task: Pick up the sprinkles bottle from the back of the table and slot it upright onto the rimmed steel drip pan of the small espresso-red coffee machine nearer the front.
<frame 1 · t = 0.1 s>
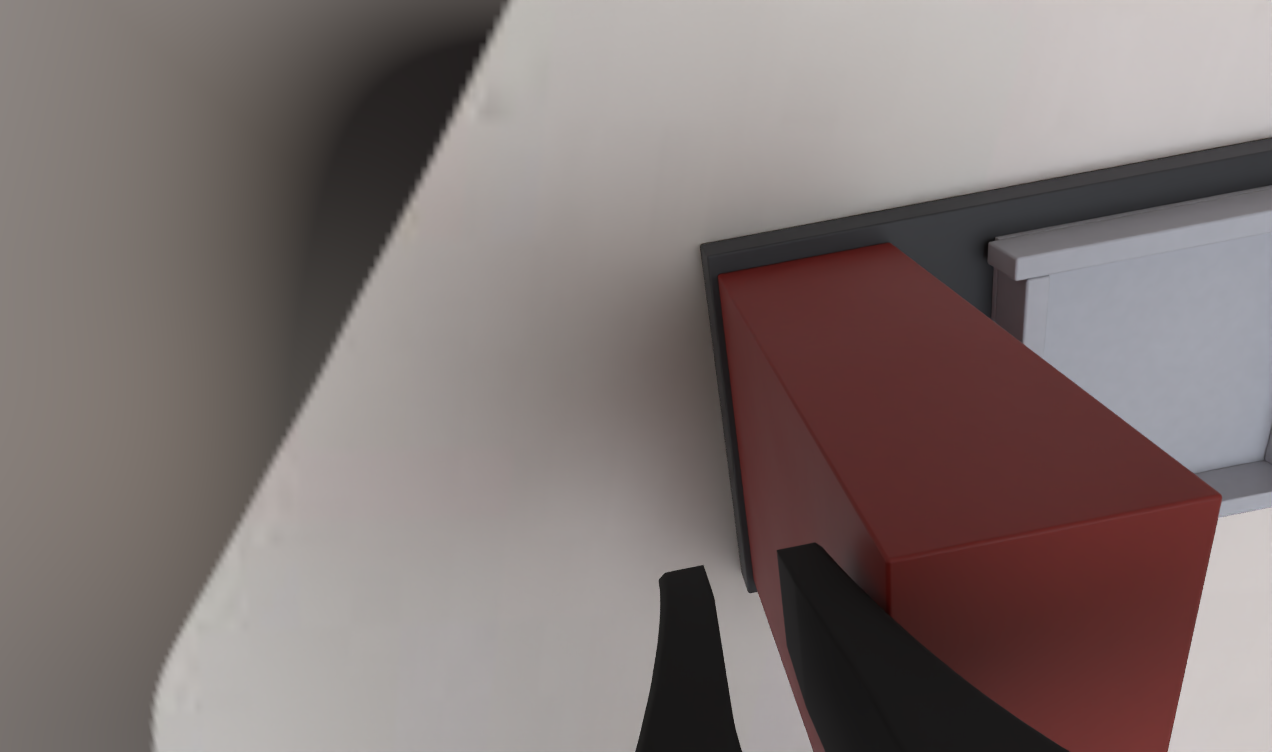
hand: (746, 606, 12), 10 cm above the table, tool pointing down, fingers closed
coffee maker: (1124, 349, 23), on the table
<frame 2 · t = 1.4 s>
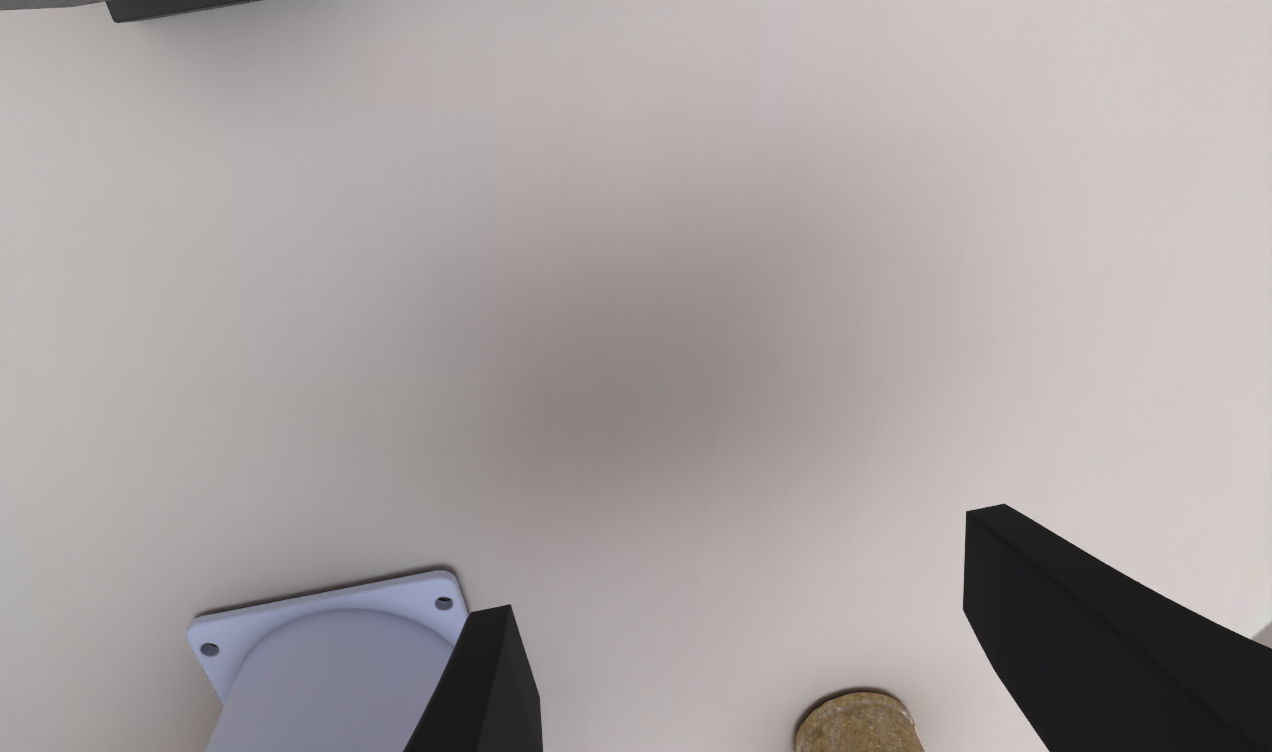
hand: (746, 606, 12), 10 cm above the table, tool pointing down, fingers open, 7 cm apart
sprinkles bottle: (849, 726, 30), on the table
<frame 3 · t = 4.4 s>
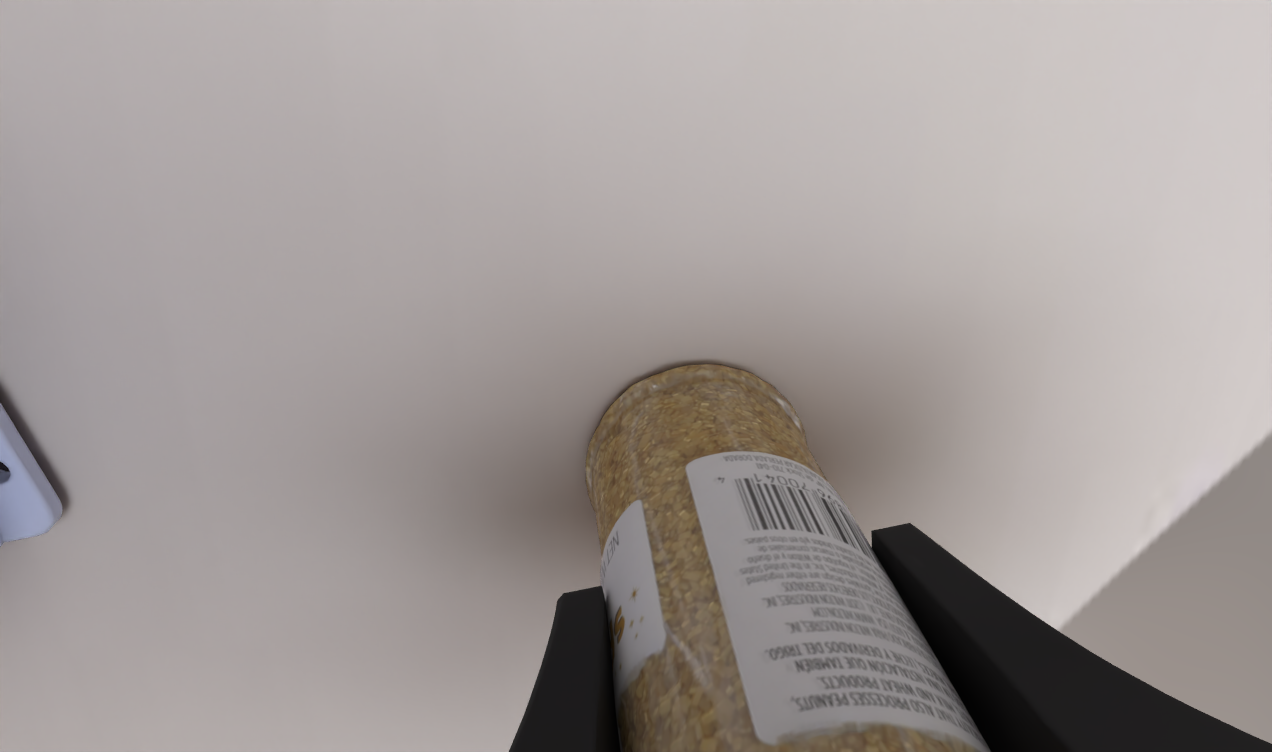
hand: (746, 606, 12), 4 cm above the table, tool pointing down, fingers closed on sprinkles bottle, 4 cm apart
sprinkles bottle: (694, 450, 17), on the table, touching gripper
when the fingers open (6 cm above the table, at t = 10.1 s): sprinkles bottle stays where it is, resting on coffee maker.
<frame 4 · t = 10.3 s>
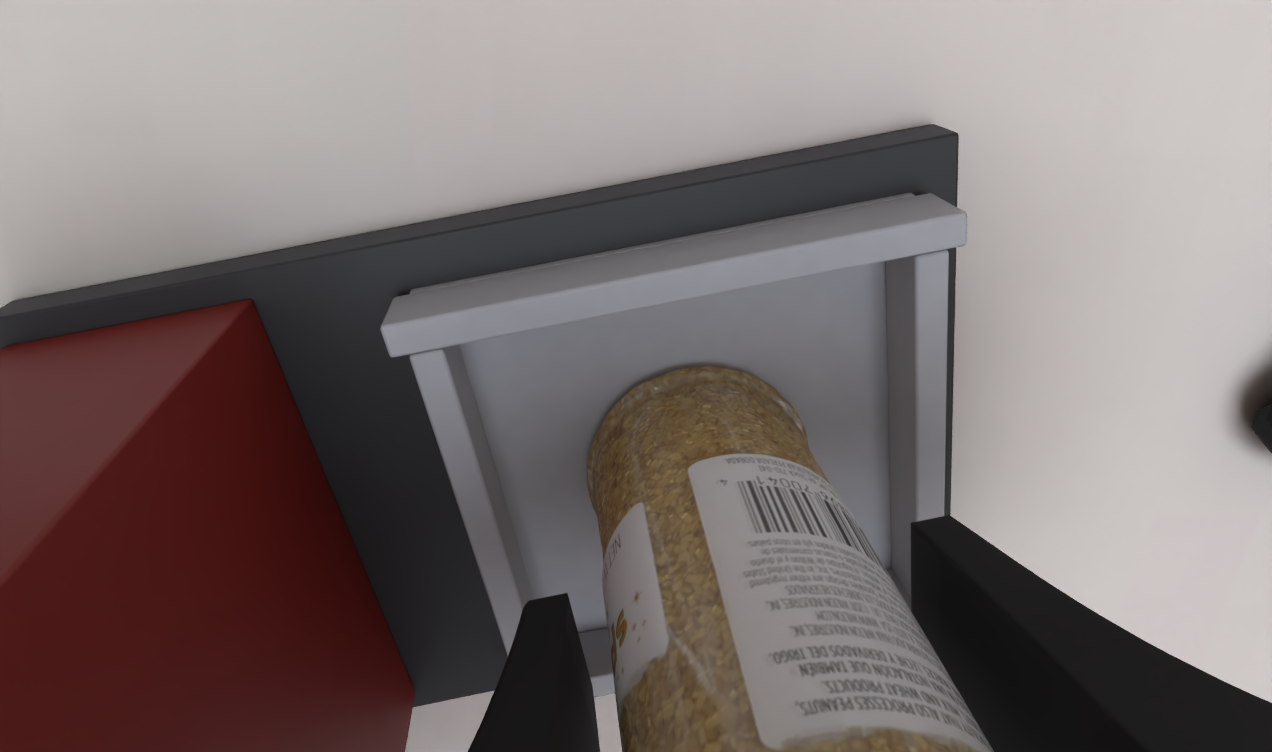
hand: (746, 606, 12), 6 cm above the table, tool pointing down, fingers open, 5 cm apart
sprinkles bottle: (695, 452, 17), point 1 cm above the table, touching coffee maker
coffee maker: (687, 427, 17), on the table
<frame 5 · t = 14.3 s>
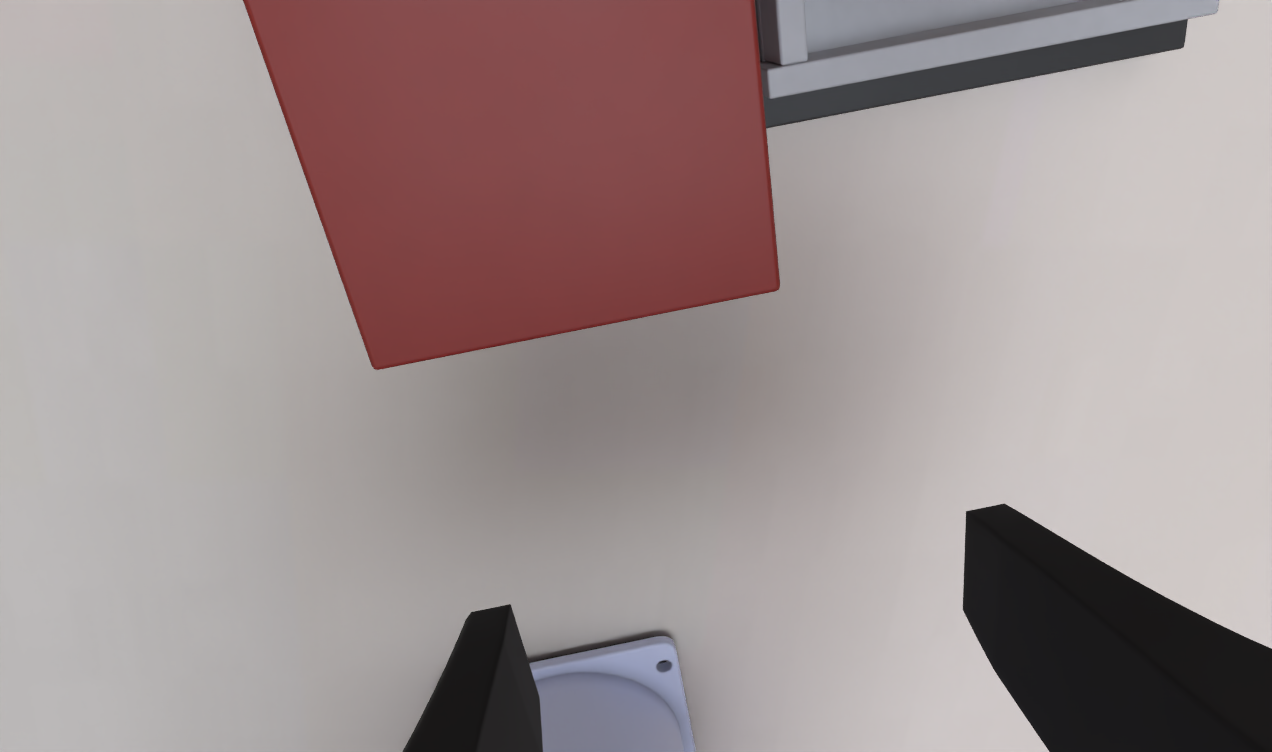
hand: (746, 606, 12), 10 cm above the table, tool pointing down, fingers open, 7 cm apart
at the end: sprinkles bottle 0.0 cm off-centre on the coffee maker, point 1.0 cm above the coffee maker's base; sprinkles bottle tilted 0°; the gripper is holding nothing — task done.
